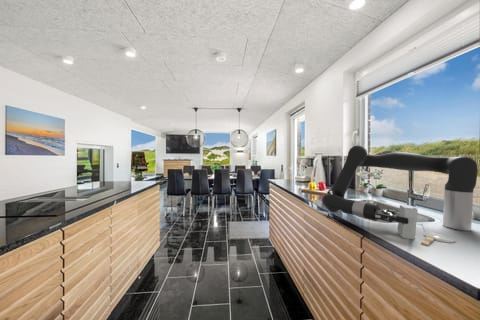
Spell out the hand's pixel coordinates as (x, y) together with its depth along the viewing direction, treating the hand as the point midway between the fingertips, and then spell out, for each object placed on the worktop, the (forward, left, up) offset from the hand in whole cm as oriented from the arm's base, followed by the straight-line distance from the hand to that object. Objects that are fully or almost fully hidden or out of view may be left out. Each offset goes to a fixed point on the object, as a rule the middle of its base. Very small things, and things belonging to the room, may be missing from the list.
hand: (411, 219), depth 82 cm
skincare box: (0, -1, -7) cm, 7 cm away
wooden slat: (0, +5, -7) cm, 9 cm away
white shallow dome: (-9, +7, -7) cm, 14 cm away
